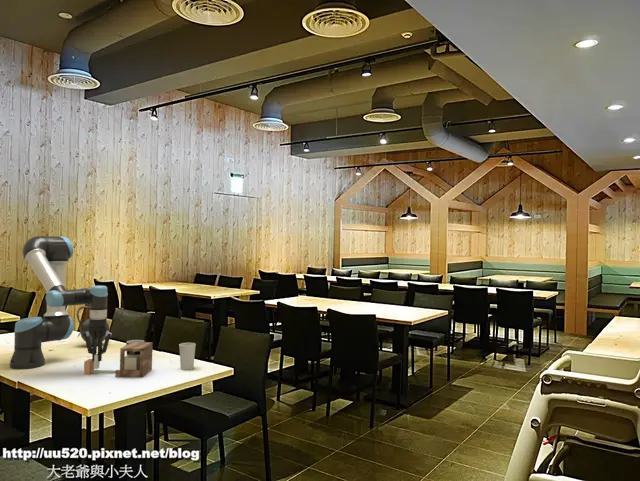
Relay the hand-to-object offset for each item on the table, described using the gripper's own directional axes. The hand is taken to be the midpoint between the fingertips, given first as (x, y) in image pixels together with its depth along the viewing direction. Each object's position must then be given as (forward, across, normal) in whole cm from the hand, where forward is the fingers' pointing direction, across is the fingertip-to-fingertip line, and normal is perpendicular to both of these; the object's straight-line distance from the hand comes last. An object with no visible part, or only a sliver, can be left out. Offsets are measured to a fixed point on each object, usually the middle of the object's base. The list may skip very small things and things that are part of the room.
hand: (96, 368), depth 239 cm
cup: (+2, +40, +10) cm, 41 cm away
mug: (+3, +11, +27) cm, 29 cm away
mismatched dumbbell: (+2, +7, 0) cm, 8 cm away
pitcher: (+3, -26, +64) cm, 69 cm away
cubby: (+2, +18, 0) cm, 18 cm away
